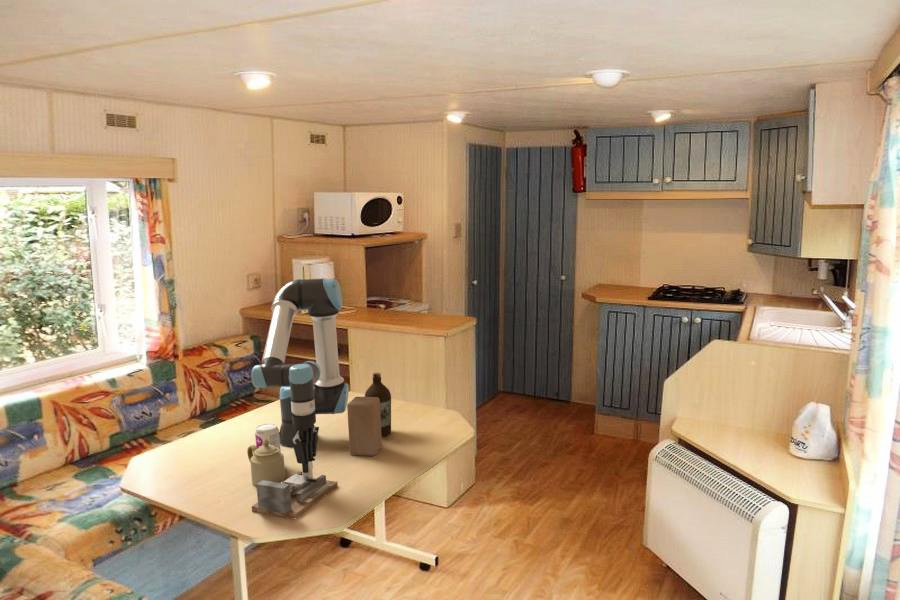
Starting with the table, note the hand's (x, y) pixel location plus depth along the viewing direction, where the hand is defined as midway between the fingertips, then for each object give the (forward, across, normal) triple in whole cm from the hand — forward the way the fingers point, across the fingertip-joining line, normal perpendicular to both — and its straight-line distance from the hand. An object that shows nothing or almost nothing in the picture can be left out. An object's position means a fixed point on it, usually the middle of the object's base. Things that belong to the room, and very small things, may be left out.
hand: (308, 480), depth 224 cm
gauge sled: (+1, -8, -2) cm, 9 cm away
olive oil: (+3, +53, +2) cm, 53 cm away
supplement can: (+3, +11, +24) cm, 26 cm away
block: (+3, +35, -2) cm, 35 cm away
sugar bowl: (+3, +1, +19) cm, 19 cm away
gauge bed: (+3, -7, 0) cm, 8 cm away
